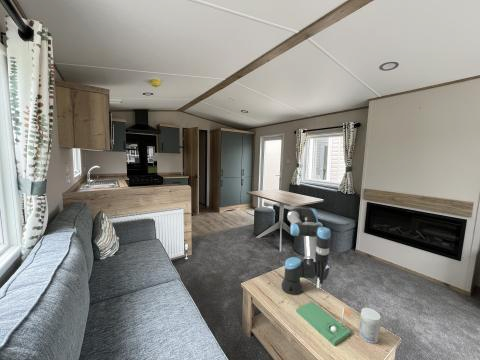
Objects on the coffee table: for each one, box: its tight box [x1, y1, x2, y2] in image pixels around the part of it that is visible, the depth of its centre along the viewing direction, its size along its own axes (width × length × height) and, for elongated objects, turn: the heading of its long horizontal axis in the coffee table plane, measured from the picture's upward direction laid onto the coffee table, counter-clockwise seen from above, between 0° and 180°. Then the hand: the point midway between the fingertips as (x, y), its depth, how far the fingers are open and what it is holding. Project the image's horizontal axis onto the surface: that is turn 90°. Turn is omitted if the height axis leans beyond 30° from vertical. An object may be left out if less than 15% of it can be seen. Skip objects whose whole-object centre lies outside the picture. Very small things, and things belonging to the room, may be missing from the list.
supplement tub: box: [358, 307, 382, 344], centre depth 119 cm, size 10×10×15 cm
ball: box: [330, 326, 337, 332], centre depth 122 cm, size 3×3×3 cm
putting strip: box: [295, 301, 352, 346], centre depth 129 cm, size 28×15×14 cm, turn 31°
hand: (319, 287), depth 133 cm, fingers closed
